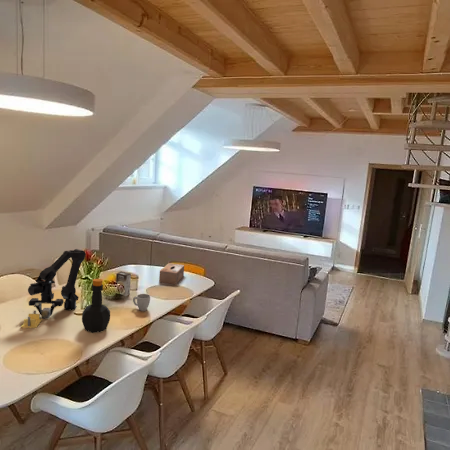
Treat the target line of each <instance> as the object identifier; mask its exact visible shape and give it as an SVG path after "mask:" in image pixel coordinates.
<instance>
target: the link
mask: <svg viewBox="0 0 450 450" xmlns="http://www.w3.org/2000/svg"><path fill="white" fill-rule="evenodd" d="M50 311H51V307H42V311H41V315H40V317H41V318H40V319H42V320H44V319H45V320H47V319H48V320H49V318H50V317H51V316H52V315H50Z"/></svg>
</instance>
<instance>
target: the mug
mask: <svg viewBox="0 0 450 450" xmlns="http://www.w3.org/2000/svg"><path fill="white" fill-rule="evenodd" d="M132 298H133V299H132V303H133V304H134V305H135V306H137V308H138V310H139V311H141V312H146V311H148V308H149V307H150V301H151V295H150V294H148V293H140V294H137V295H136V296H134V297H132Z"/></svg>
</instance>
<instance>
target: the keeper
mask: <svg viewBox="0 0 450 450" xmlns="http://www.w3.org/2000/svg"><path fill="white" fill-rule="evenodd" d="M40 317H41V315H40V313H37V310H33V313H28V315H27V318H23V324H22V325H21V326H20V327H21V328H24V329H25V328H27V329H37V327H38V326H39V325H40V323H41V322H42V321H43V319H41V318H40Z"/></svg>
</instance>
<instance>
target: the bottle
mask: <svg viewBox="0 0 450 450" xmlns="http://www.w3.org/2000/svg"><path fill="white" fill-rule="evenodd" d="M103 281H104V280H103V279H102V278H93V279H92V285H91V292H92V294H91V304H90V305H87V306H86V307H84V309H83V311H82V312H81V313H82V315H81V322H82V325H83V328H84V331H85V332H88V333H92V334H94V333H95V334H96V333H97V334H98V333H102V332H105V331H106V330H107V329H108V325H109V323H110V320H111V311H110V309H109V307H108V306H106V305H105V304H103V293H102V291H103V290H104V285H103Z"/></svg>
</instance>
